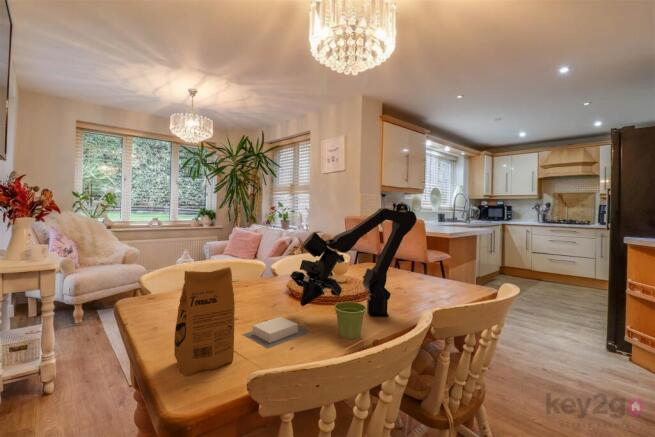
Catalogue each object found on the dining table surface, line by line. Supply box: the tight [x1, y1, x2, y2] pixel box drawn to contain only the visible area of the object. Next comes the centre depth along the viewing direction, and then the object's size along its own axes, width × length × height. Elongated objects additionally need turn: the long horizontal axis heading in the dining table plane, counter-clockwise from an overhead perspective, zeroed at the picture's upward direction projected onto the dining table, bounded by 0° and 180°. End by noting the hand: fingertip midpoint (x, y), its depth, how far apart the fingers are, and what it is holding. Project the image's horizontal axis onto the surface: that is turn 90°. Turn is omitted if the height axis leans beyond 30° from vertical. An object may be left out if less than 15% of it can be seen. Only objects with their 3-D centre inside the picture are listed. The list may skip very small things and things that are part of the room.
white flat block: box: [252, 316, 299, 343], centre depth 87 cm, size 3×8×10 cm
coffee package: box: [173, 266, 236, 377], centre depth 70 cm, size 10×12×22 cm
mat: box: [242, 325, 312, 349], centre depth 88 cm, size 16×12×1 cm
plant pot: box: [333, 301, 367, 340], centre depth 88 cm, size 9×9×9 cm
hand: (301, 305), depth 94 cm, fingers closed
